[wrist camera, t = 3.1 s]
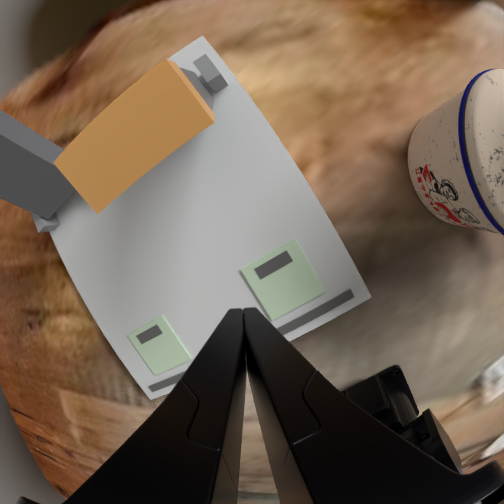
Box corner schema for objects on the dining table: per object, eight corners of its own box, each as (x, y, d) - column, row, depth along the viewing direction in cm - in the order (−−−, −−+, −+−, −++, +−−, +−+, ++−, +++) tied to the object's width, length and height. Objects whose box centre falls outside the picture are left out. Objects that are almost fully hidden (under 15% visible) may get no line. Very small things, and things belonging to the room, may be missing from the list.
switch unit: (367, 290, 20) (378, 307, 17) (157, 391, 25) (140, 412, 21) (208, 44, 19) (193, 22, 16) (43, 189, 23) (17, 189, 20)
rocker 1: (84, 181, 19) (-36, 112, 9) (48, 221, 20) (-62, 170, 10) (83, 159, 20) (-24, 92, 10) (48, 198, 21) (-52, 146, 11)
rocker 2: (216, 99, 18) (214, 122, 9) (155, 144, 19) (97, 214, 10) (194, 69, 17) (165, 59, 7) (132, 116, 18) (53, 162, 8)
